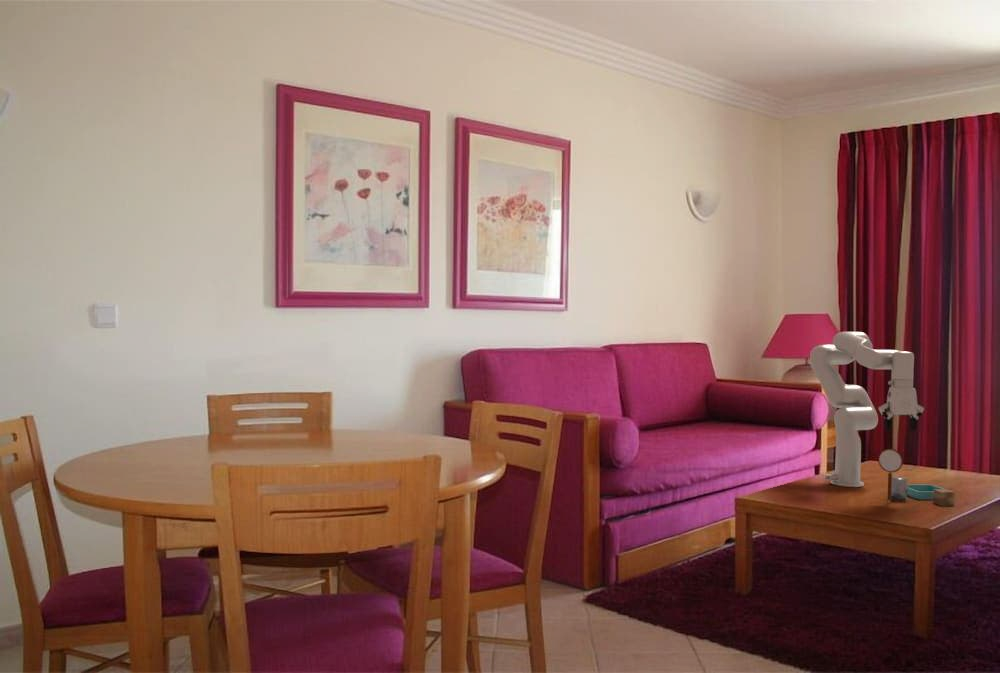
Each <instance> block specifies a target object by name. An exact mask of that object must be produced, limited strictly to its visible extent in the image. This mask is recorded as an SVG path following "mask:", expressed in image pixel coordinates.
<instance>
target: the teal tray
mask: <svg viewBox="0 0 1000 673" xmlns="http://www.w3.org/2000/svg"><path fill="white" fill-rule="evenodd" d="M934 489H944V488H943V487H940V486H937V485H933V484H908V491H907V497H910V498H913V499H915V500H918V501H920V500H921V501H923V500H924V501H925V500H927V501H928V500H929V501H930V500H931V501H933V498H934Z"/></svg>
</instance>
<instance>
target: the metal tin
mask: <svg viewBox="0 0 1000 673" xmlns="http://www.w3.org/2000/svg"><path fill="white" fill-rule="evenodd" d="M908 485H909V479H908V478H907V477H901V476H892V484H891V499H892V500H891V501H895V500H896V501H897V502H908V496H907V491H908Z"/></svg>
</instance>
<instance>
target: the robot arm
mask: <svg viewBox="0 0 1000 673" xmlns="http://www.w3.org/2000/svg"><path fill="white" fill-rule="evenodd" d="M873 348H874V345H873V343H872V341H870V337H869V336H868V335H867V334H866V333H865V332H862V331H840V332H838V333H836V335H834V337H833V339H832V344H831V343H830V344H819V345H816V346H815V347H813V348H812V349H811V351H810V355H809V364H810V365H809V366H810V367H811V371H813V373H814V375H815V377H816V378H817V379H818V381H819V383H820V385H821V387H822V389H823V392H824V394H825V397H826V398H827V401H828V402H829V404H830V405H831V407H834V408H837V410H836V411H835V412H834V415H833V421H834V422H833V423H834V426H835V427H834V428H835V461H834V462H835V465H834V466H835V467H834V468H835V469H834V471H832V473H830V474H826V473H825V474H823V477H822V478H823V479H824V480H830V484H832V485H835V486H840V487H846V488H847V487H848V488H860V487H861V488H862V487H864V485H865V482H863V481H861V462H862V461H861V459H862V440H861V437H860V435H859V433H858V431H868V430H869V431H870V430H872V429H875V428H876V427H877V425H878V423H879V417H878V416H879V415H878V413H877V410H876V408H875V406H874V404H873V402H872V401H871V398H870V397H869V395H868V392H867V391H866V390H865V388H864V387H863V386H860V385H857V384H846V383H845V382H844V380H843V379H842V377H841V374H840V373H839V372H838V370H837V369H835V368H834V367H832V366H831V365H837V366H840V365H842V366H843V365H849V364H850V363H852V362H854V361H855V360H856V362H857V363H858V364H859V365H861V366H863V367H865V368H868V369H871V370H891V374H890V375H891V379H890V380H888V383H887V384H888V385H890V387H889V389H888V392H887V396H886V397H887V398H886V403H883V404H882V405H880V406H879V407H878V410H879V412H880V415H881V416H882V417H883V419H884V428H885V430H888V431H892V426H893V425H892V422H893V420H892V417H893V416H894V415H896V416H898V415H899V416H903V415H904V416H909V417H910V419H909V429H910V430H911V431H916V430H917V427H918V426H917V425H918V420H919V418H920V417H921V416H922V415H923V414H922V413H923V412H924V411H925V408H924V407H923V406H921V405H919V404H918V396H917V395H918V394H917V390H916V388H914V367H915V354H914V352H912V351H911V352H910V351H905V350H897V349H873Z"/></svg>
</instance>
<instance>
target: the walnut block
mask: <svg viewBox="0 0 1000 673" xmlns="http://www.w3.org/2000/svg"><path fill="white" fill-rule="evenodd" d="M955 497H956V496H955V491H954V490H953V491H952V490H949V489H946V488H943V489H934V498H933V500H932V501H933V502H932V503H934V504H937V505H939V506H955Z"/></svg>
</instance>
